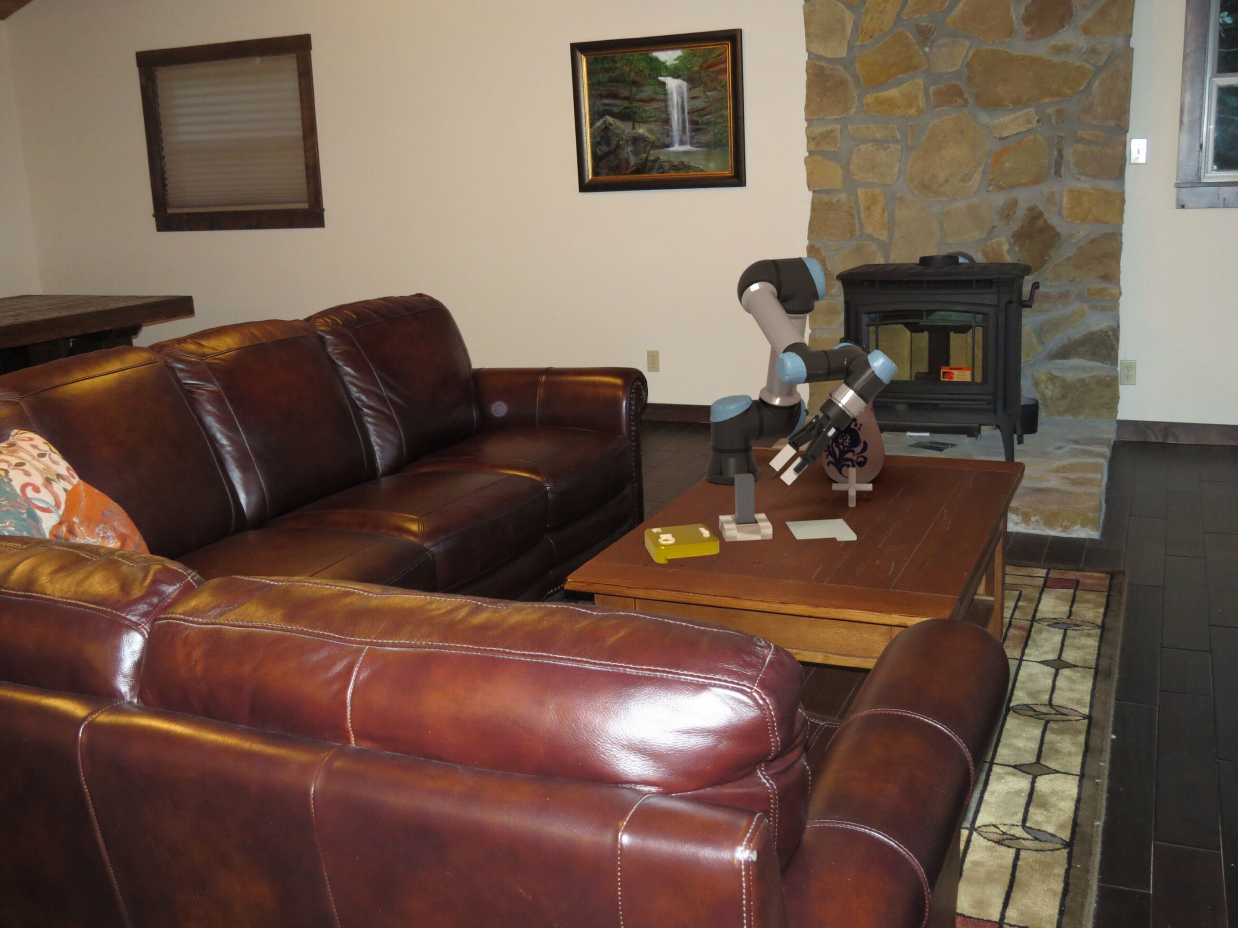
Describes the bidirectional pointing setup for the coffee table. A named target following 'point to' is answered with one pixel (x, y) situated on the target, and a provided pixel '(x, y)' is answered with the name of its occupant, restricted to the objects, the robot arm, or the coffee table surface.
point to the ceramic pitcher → (855, 449)
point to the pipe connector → (852, 487)
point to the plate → (822, 529)
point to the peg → (744, 499)
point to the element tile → (680, 542)
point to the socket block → (745, 528)
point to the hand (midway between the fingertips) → (778, 474)
